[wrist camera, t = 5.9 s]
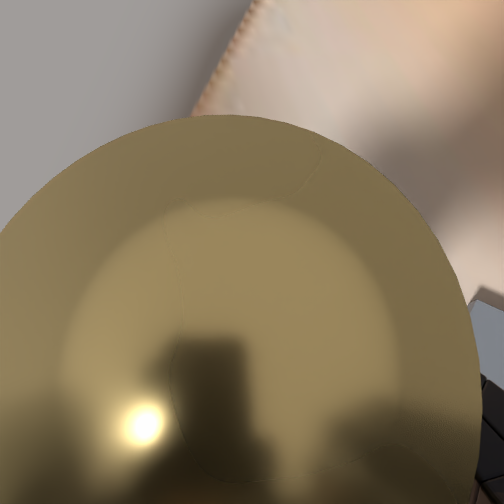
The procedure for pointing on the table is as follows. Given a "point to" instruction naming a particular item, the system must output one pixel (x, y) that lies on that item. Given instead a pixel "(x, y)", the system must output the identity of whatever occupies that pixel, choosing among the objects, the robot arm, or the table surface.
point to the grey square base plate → (489, 339)
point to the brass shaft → (231, 329)
